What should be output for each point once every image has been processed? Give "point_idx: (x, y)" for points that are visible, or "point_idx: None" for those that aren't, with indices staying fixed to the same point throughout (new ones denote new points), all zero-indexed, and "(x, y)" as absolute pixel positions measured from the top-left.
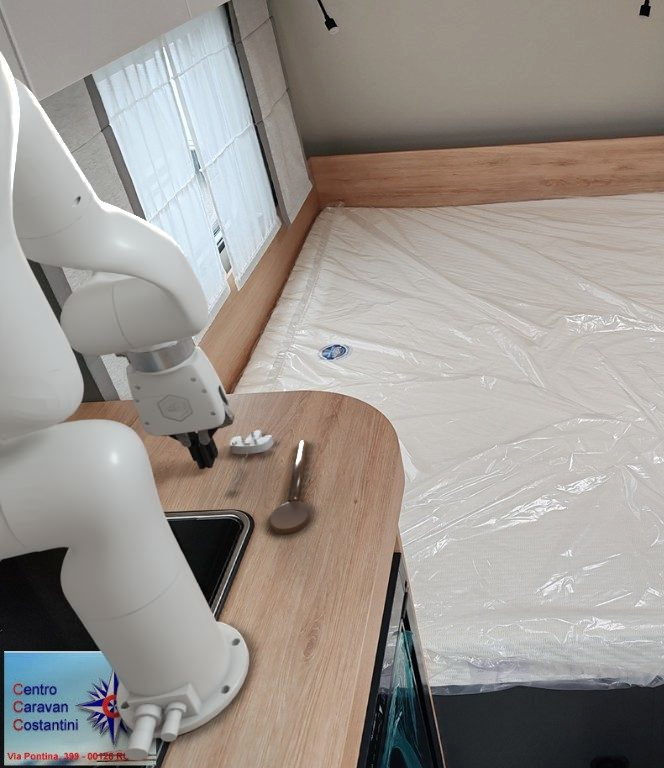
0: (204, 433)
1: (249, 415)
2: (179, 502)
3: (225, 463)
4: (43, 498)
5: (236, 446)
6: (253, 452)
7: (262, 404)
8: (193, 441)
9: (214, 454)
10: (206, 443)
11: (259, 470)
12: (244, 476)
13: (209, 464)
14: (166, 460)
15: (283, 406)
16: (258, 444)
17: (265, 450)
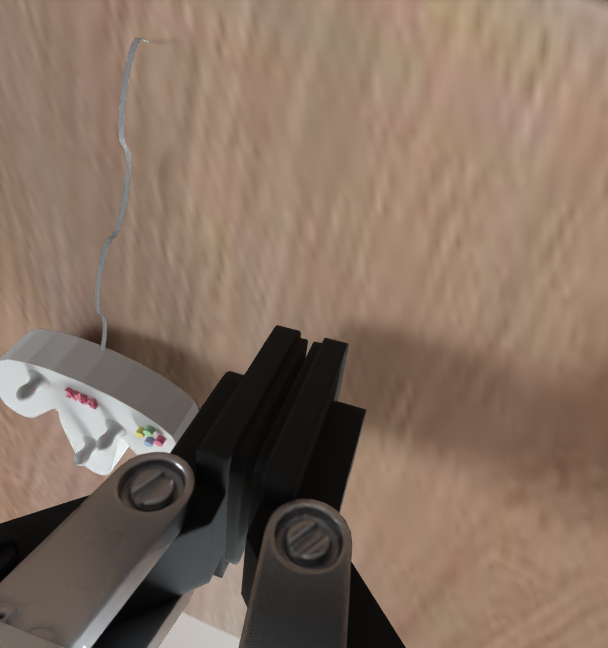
0: (74, 548)
1: None
2: (524, 99)
3: (242, 353)
4: None
5: (133, 406)
6: (76, 340)
7: None
8: (258, 530)
9: (216, 388)
10: (159, 459)
11: (54, 215)
12: (119, 199)
13: (271, 340)
14: (555, 522)
15: None
16: (21, 364)
17: (30, 331)
